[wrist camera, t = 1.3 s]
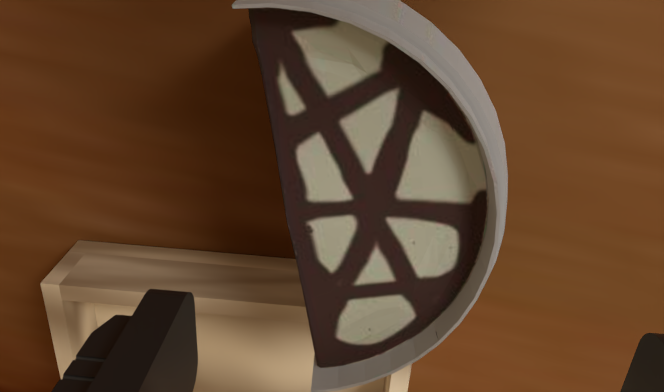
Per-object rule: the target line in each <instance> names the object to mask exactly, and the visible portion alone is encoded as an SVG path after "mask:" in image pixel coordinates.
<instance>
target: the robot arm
mask: <svg viewBox="0 0 664 392" xmlns="http://www.w3.org/2000/svg"><path fill="white" fill-rule="evenodd" d="M197 368H198V349H197V333H196V317H195V302H194V296H193V294H192V293H191V292H184V291H172V290H160V289H149V290H148V291H147V292H146V293H145V295H144V297H143V298H142V300H141V302H140V303H139V305H138V307H137V308H136V310H135V311H134V313H133V315H132V316H127V315H115V316H113V317H112V318H111V319H109V320H108V321H106V322H105V323H104V324H102V325H101V326H100V327H98V328H97V329H96V330H94V331H93V332H92V333H91V334H90V335H89V337H88V338H87V340H86V341H85V343H84V344H83V346H82V347H81V349H80V350H79V352H78V353H77V355H76V359H75V360H73V361H72V362H71V364H70V365H69V367H68V368H67V370H66V371H65V372H64V374H63V379H62V380H61V379H60V380H59V381H58V383H57V384H56V386H55V387H54V389H53V390H52V392H193V389H194V385H195V381H196V376H197ZM621 392H664V334H657V333H647V334H645V335H644V336H643V337H642V338H641V340H640V342H639V344H638V347H637V349H636V352H635V355H634V357H633V360H632V363H631V365H630V368H629V371H628V373H627V376H626V378H625V381H624V384H623V386H622V389H621Z"/></svg>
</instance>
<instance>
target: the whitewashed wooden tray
mask: <svg viewBox="0 0 664 392" xmlns="http://www.w3.org/2000/svg"><path fill="white" fill-rule="evenodd" d="M40 284H41V289H42V294H43V298H44V303H45V308H46V313H47V317H48V322H49V327H50V331H51V336H52V341H53V345H54V350H55V355H56V359H57V364H58V369H59V374H60V378H61V380H62V379H63V374H64V372H65V371H66V370H67V368H68V367H69V365H70V364H71V362H72V361H73V360H75V359H76V355H77V353H78V352H79V350H80V349H81V347H82V346H83V344H84V343H85V341H86V340H87V338H88V337H89V335H90V334H91V333H92V332H93V331H94V330H96V329H97V328H98V327H100V326H101V325H102V324H104V323H105V322H106V321H108V320H109V319H111V318H112V317H113V316H115V315H127V316H132V315H133V313H134V311H135V310H136V308H137V307H138V305H139V303H140V302H141V300H142V298H143V297H144V295H145V293H146V292H147V291H148V290H149V289H160V290H172V291H184V292H191V293H192V294H193V296H194V302H195V317H196V333H197V349H198V368H197V376H196V381H195V385H194V389H193V392H311V384H312V374H313V364H314V354H315V352H314V347H313V342H312V337H311V332H310V327H309V322H308V317H307V312H306V307H305V301H304V296H303V291H302V286H301V282H300V277H299V272H298V267H297V263H296V259H290V258H279V257H267V256H256V255H244V254H233V253H221V252H210V251H198V250H187V249H175V248H164V247H152V246H141V245H129V244H118V243H106V242H94V241H83V240H78V241H77V242H76V244H75V245H74V246H73V247H72V248H71V249H70V250H69V251H68V253H67V254H66V255H65V256H64V257H63V258H62V259H61V260H60V262H59V263H58V264H57V265H56V266H55V267H54V268H53V269H52V271H51V272H50V273H49V274H48V275H47V276H46V277H45V278H44V280H43V281H42V282H41V283H40ZM411 365H412V364H410V365H408V366H406V367H404V368H403V369H401V370H399V371H397V372H395V373H393V374H391V375H388V376H386V377H383V378H380V379H378V380H375V381H372V382H370V383H367V384H364V385H359V386H355V387H351V388H347V389H342V390H338V391H329V392H407V390H408V384H409V378H410V371H411Z"/></svg>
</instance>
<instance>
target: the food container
mask: <svg viewBox="0 0 664 392" xmlns="http://www.w3.org/2000/svg"><path fill="white" fill-rule="evenodd" d="M232 8H233V9H238V8H249V18H250V23H251V27H252V40H253V44H254V47H255V50H256V52H257V56H258V60H259V65H260V69H261V74H262V79H263V85H264V90H265V96H266V101H267V107H268V112H269V118H270V123H271V129H272V134H273V140H274V146H275V151H276V157H277V163H278V169H279V175H280V181H281V188H282V194H283V200H284V206H285V213H286V219H287V224H288V228H289V233H290V237H291V241H292V245H293V250H294V254H295V258H296V263H297V267H298V272H299V277H300V282H301V286H302V291H303V296H304V301H305V307H306V312H307V317H308V322H309V327H310V332H311V337H312V342H313V347H314V352H315V354H314V364H313V374H312V384H311V392H329V391H338V390H342V389H347V388H351V387H355V386H359V385H364V384H367V383H370V382H372V381H375V380H378V379H380V378H383V377H386V376H388V375H391V374H393V373H395V372H397V371H399V370H401V369H403V368H404V367H406V366H408V365H410V364H412V363H414V362H415V361H417V360H419V359H420V358H421V357H423V356H424V355H425V354H427V353H428V352H430V351H431V350H432V349H434V348H435V347H436V346H438V345H439V344H440V343H441V342H442V341H443V340H444V339H445V338H446V337H447V336H448V335H449V334H450V333H451V332H452V331H453V330H454V329H455V328H456V327H457V326H458V325H459V324H460V323H461V322H462V320H463V319H464V317H465V316H466V315H467V313H468V312H469V310H470V309H471V308H472V306H473V305H474V303H475V302H476V301H477V299H478V297H479V295H480V293H481V291H482V289H483V287H484V285H485V283H486V281H487V279H488V277H489V275H490V273H491V271H492V269H493V266H494V264H495V262H496V259H497V256H498V252H499V249H500V245H501V242H502V238H503V235H504V228H505V218H506V208H507V187H508V173H507V162H506V151H505V142H504V139H503V135H502V132H501V128H500V124H499V121H498V117H497V114H496V110H495V108H494V106H493V104H492V102H491V100H490V98H489V96H488V94H487V92H486V90H485V88H484V86H483V83H482V81H481V79H480V78H479V76H478V75H477V74H476V72H475V71H474V70H473V68H472V67H471V65H470V64H469V63H468V61H467V60H466V58H465V57H464V56H463V54H462V53H461V52H460V50H459V49H458V48H457V47H456V46H455V45H454V44H453V43H452V42H451V41H450V40H449V39H448V38H447V37H446V36H445V35H444V34H443V33H442V32H441V31H440V30H439V29H438V28H437V27H436V26H435V25H434V24H433V23H432V22H430V21H429V20H427V19H426V18H424V17H423V16H422V15H420V14H419V13H417V12H416V11H414V10H413V9H411V8H410V7H409V6H407V5H406V4H404V3H403V2H401V1H400V0H236V1H235V2H234V3H233V4H232Z"/></svg>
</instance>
